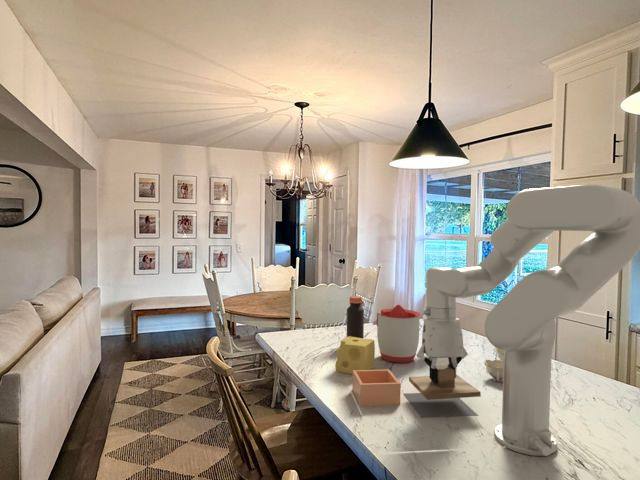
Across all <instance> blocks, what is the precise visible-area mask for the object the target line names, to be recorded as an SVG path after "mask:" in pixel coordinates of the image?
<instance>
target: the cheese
mask: <svg viewBox="0 0 640 480" xmlns="http://www.w3.org/2000/svg"><path fill="white" fill-rule="evenodd" d="M375 344H376V343H375V340H374V339H372V338H371V339H370V338H364V337H363V338H356V337H351V336H348V337H347V336H345V337H344V338H343V339H341V340H340V345H339V347H338V348H337V350H336V353H335V354H336V357H337V360H335V364H334V365H335V372H337V373H344V374H349V375H353V370H373V369H374V368H375V355H376V353H375V352H376V351H375V349H376V347H375V346H376V345H375Z"/></svg>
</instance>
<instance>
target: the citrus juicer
mask: <svg viewBox="0 0 640 480" xmlns="http://www.w3.org/2000/svg"><path fill="white" fill-rule="evenodd" d="M376 314H377V315H376V320H375V321H373V322H372V326H376V327H377V332H376V333H377V345H378V349H379V353H380V356H381V358H382V359H383V360H384V361H386V362H392V363H403V364H407V363H409V362H413V361H414V360H415V357H416V356H417V352H418V347H419V342H420V316H421V313H420V312H418V311H416V310H413V309H412V310H411V309H406V308H405V309H404V307H403V306H402V305H400V304H396V305H395V306H394V307H393V308H385V309H381V310H380V313H379V312H377V313H376Z"/></svg>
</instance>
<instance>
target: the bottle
mask: <svg viewBox="0 0 640 480" xmlns="http://www.w3.org/2000/svg"><path fill="white" fill-rule="evenodd" d="M362 301H363V299H362V296H361V295H360V296H358V295H353V296H349V302H348V303H349V304H350V305H349V306H348V307H347V309H346V337H348V336H351V337H356V338H364V330H365V329H364V328H365V326H364V325H365V310H364V308H363V307H362V306H361V305H362Z"/></svg>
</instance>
